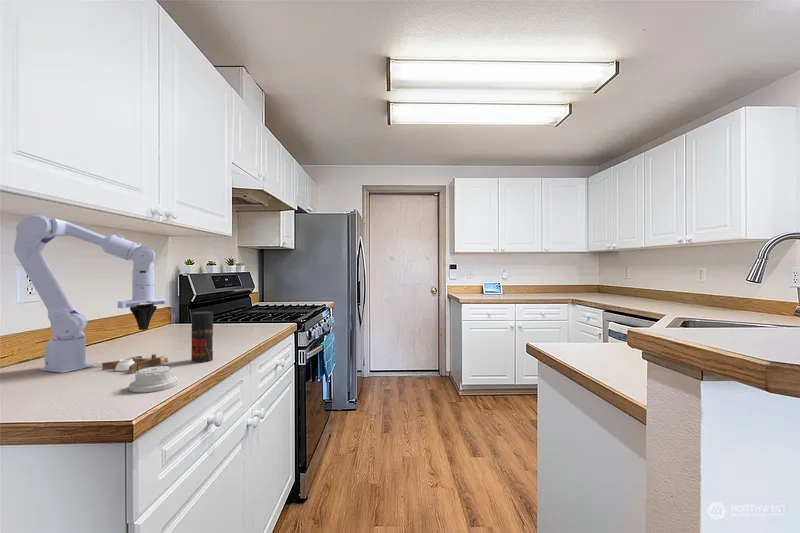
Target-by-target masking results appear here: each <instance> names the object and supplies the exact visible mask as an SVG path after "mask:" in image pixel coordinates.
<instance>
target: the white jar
mask: <svg viewBox="0 0 800 533" xmlns="http://www.w3.org/2000/svg"><path fill="white" fill-rule="evenodd" d="M131 358H132V357H128V359H127V358H122V359H119V360H118V361H119V363H118V364H117V366H116V368H115V369H114V371H115V372H129V366H131V365H132V364H134V363H135V362H134V361H132V359H131Z"/></svg>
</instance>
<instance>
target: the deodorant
mask: <svg viewBox="0 0 800 533" xmlns="http://www.w3.org/2000/svg"><path fill="white" fill-rule="evenodd" d="M213 360H214V311H193V312H191V362H192V363H195V364H201V363H208V362H211V361H213Z"/></svg>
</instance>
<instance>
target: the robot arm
mask: <svg viewBox="0 0 800 533" xmlns="http://www.w3.org/2000/svg"><path fill="white" fill-rule="evenodd" d="M15 229H16V234H15V235H16V237H15V239H14V240H15V241H14V247H13V252H14V254H15V256H16V258H17V259H18V261H19V263H20V266H22V268H23V269H24V271H25V273H26V275H27V277H28V278H29V280H30V282H31V284H32V285H33V287H34V289H35V291H36V292H37V294H38V296H39V298H40V299H41V301H42V302H43V304H44V306H45V308H46V309H47V317H48V319H49V322H50V332H51V334H52V335H53V336H52V338H51V339H49V340H48V341H47V342H46V344H45V346H44V367H42V368H40V371H45V372H46V371H47V372H55V373H61V374H62V373H68V372H73V371H77V370H82V369H86V368H87V369H88V368H91V367H93V366H94V364H91V363H86V359H87V356H86V352H87V350H86V348H87V347H86V346H87V345H86V344H87V342H86V341H87V340H86V339H87V338H86V336H87V335H86V333H84V330H85V329H86V328H87V325H88V322H87V321H88V320H87V318H86V317H85V315H83V314H82V313H80V312H79V311H78V310H77V309H76V307H75V306H74V305H73V304H72V303H71V302H70V301H69V298H68V297H67V295H66V293H65V291H64V290H63V288H62V286H61V285H60V283H59V281H58V280H57V278H56V276H55V274H54V272H53V270H52V269H51V266H49V264H48V262H47V260H46V258H45V256H44V254H43V253H42V252H43V251H44V249H45V248H46V246H47V245H48V243H49V242H51V241H52V240H53V239H55V238H56V237H61V238H62V237H74V238H77V239H78V240H82V241H85V242H88V243H91V244H94V245H98V246H100V247H101V248H102V250H103V252H104V253H106V254H108V255H111V256H114V257H117V258H120V259H123V260H125V261H132V262H133V264H132V265H133V266H132V267H133V269H132V278H131V279H132V282H131V284H132V285H131V289H132V291H131V295H132V296H131V297H132V298H131V299H129V300H128V299H127V300H121V301H117V309H126V308H129V310H130V312H131V313H132V315H133V317H134V318H135V320H136V321H135V322H136V323H137V327H138V329H139V331H140V330H141V331H145V330H148V329H149V325H150V323H151V319H152V318H153V315H154V314H155V312H156V310H157V305H167V297H158V298H157V297H156V298H155V276H156V274H155V272H156V271H155V270H154V269H155V263H154V261H155V259H156V253H155V251H154V250H153V249H152V248H150V247H148V246H144V245H143V246H142V243H141V242H134V241H131V240H129V239H126V238H125V236H123V235H121V234H118V235H115V234H112V235H109V236H105V235H103V234H100V233H98V232H95V231H92V230H90V229H88V228H85V227H82V226H80V225H77V224H75V223H72V222H69V221H67V220H62V219H59V218H53V217H47V216H45V215H43V214H38V213H30V214H27V215H25V216H23V217H22V219H20V221H19V222H18V224H16V226H15Z"/></svg>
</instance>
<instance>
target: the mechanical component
mask: <svg viewBox="0 0 800 533" xmlns="http://www.w3.org/2000/svg"><path fill="white" fill-rule="evenodd" d="M172 370H173V369H172V367H170V366H167V365H165V366H164V365H161V366H160V365H157V366H153V367H149V368H144V369H141V370H137V371H136V372H134V373H135V376H134V378H135V379H134V381H132V382H130V383H129V384H128V391H130V392H131V393H152V392H159V391H163V390H166V389H167V390H168V389H171V388H173V387H175V386H176V385H177V384H178V378H177V377H176V376H173V375H172V374H173V372H172Z"/></svg>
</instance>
